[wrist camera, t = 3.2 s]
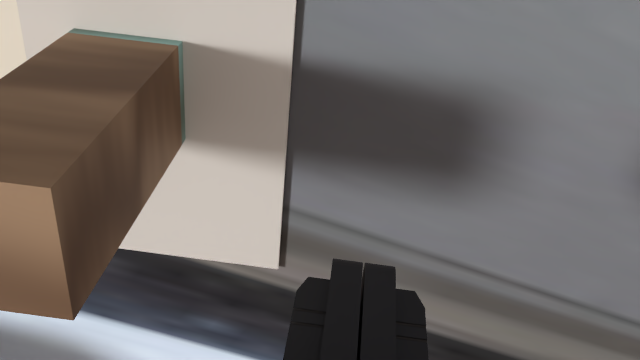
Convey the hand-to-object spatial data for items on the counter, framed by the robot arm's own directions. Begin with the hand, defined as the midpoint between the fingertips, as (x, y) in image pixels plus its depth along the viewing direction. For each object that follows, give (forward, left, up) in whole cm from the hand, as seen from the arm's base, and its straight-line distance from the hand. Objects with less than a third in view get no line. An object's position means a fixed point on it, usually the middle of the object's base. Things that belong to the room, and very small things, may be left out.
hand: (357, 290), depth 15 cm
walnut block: (0, -9, -10) cm, 13 cm away
